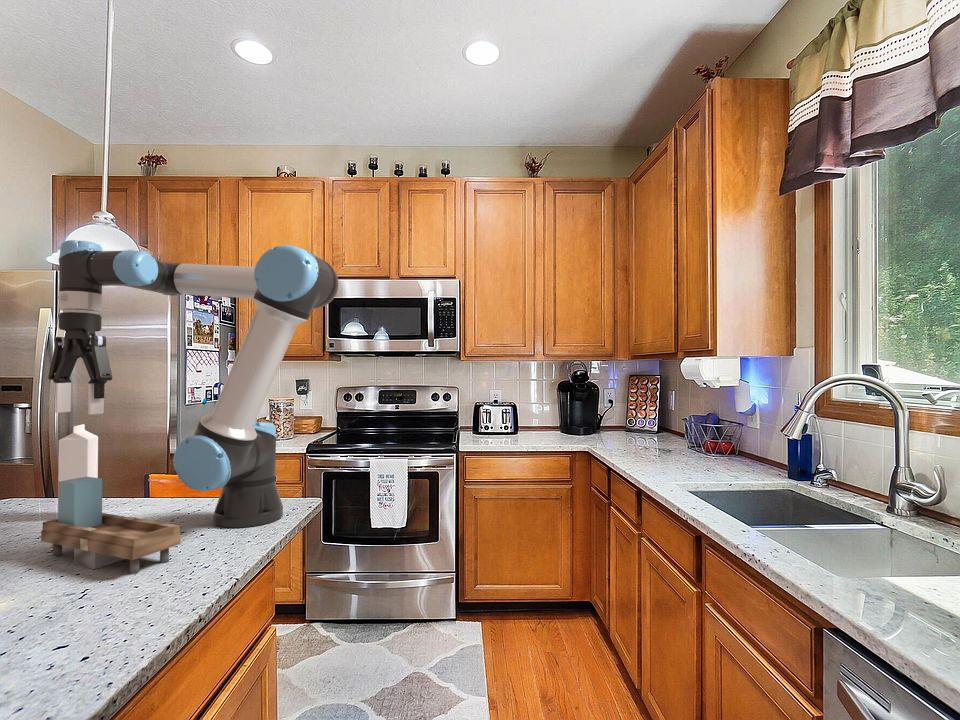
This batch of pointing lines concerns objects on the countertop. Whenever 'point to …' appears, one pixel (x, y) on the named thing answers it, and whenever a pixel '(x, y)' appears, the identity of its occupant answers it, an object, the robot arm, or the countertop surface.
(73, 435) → the milk
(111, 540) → the long brown tray
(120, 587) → the countertop surface
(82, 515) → the block
